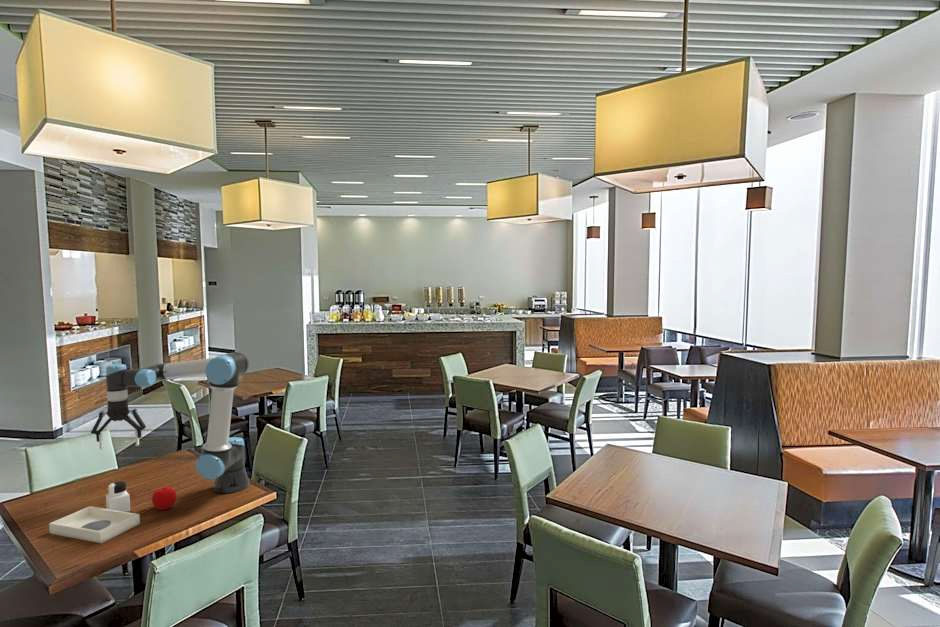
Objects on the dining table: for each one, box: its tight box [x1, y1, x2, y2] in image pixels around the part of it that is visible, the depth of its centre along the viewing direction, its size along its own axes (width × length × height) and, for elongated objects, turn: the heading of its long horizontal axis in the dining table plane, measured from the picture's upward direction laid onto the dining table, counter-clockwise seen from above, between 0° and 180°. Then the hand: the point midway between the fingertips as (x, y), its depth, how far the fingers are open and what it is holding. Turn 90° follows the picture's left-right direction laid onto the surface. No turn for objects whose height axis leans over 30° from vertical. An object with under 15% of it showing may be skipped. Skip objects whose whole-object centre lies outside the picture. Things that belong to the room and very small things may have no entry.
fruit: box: [151, 485, 177, 511], centre depth 223 cm, size 9×9×10 cm
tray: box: [48, 505, 141, 544], centre depth 204 cm, size 26×16×4 cm, turn 73°
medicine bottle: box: [105, 481, 131, 512], centre depth 220 cm, size 7×7×12 cm
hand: (119, 446), depth 232 cm, fingers open, 13 cm apart
